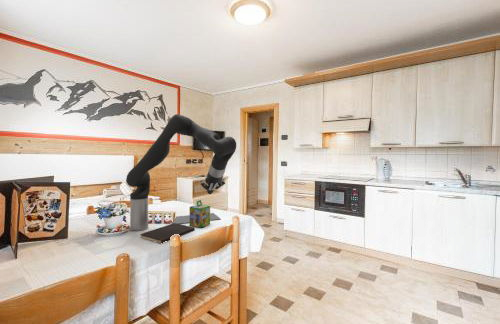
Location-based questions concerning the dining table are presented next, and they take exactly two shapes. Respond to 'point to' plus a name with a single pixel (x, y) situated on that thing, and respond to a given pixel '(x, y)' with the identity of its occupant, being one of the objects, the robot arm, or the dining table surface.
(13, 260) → the dining table surface
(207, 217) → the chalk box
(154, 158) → the robot arm
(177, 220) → the charcoal mat
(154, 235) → the hardcover book
